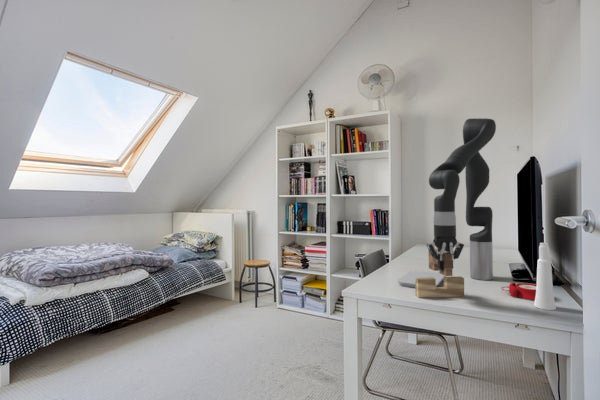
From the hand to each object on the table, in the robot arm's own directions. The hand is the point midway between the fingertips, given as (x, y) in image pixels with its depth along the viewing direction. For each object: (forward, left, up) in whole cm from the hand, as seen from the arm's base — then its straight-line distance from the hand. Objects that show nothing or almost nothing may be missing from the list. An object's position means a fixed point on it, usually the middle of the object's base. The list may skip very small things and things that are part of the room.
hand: (445, 270), depth 120 cm
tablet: (-24, -11, -12) cm, 29 cm away
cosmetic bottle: (-5, +30, -11) cm, 33 cm away
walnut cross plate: (-4, -2, -2) cm, 5 cm away
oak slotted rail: (-4, -3, -11) cm, 12 cm away
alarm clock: (-17, +26, -12) cm, 34 cm away
